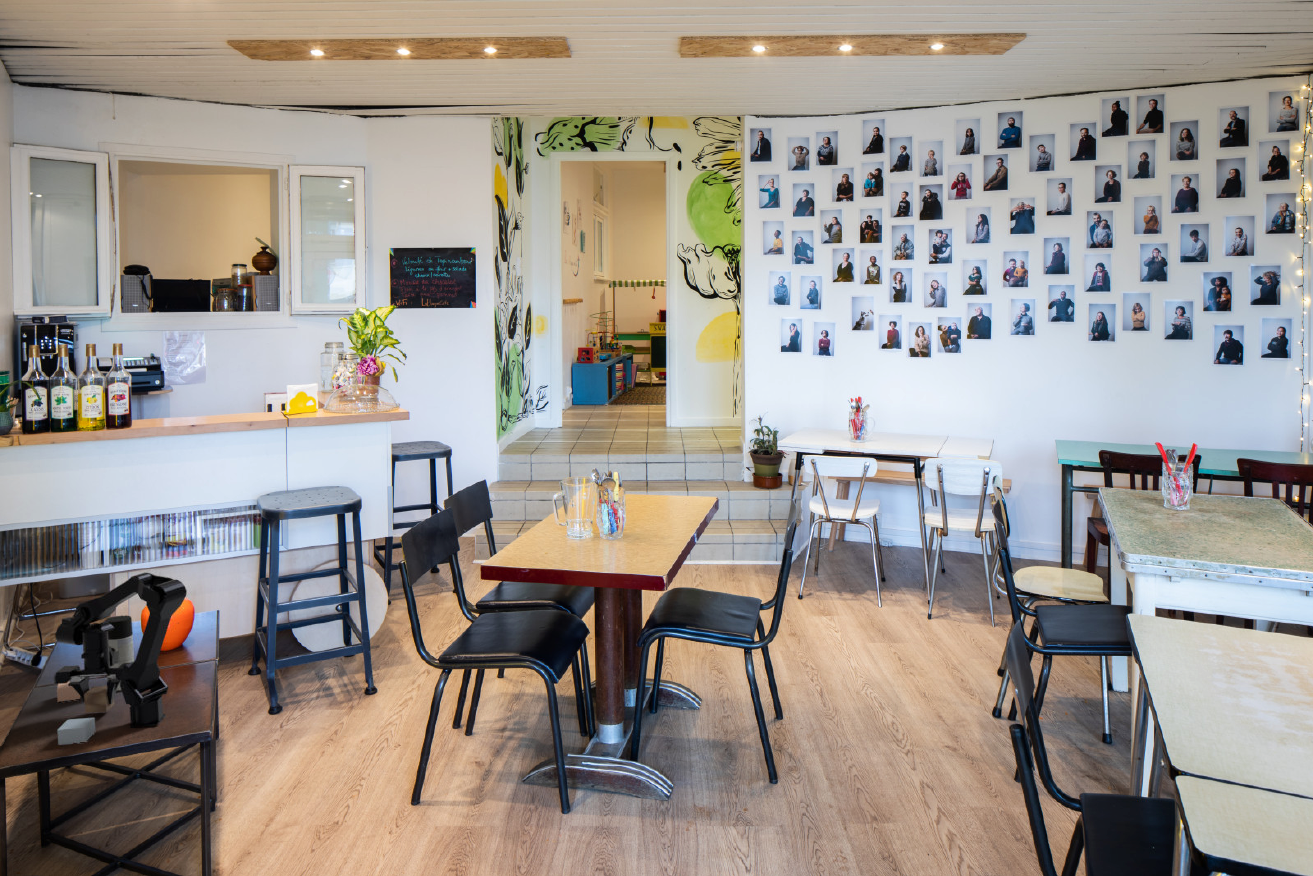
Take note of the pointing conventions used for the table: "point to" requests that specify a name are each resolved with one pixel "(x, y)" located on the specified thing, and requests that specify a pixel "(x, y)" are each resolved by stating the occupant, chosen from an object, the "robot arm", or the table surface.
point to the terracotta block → (66, 692)
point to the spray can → (121, 640)
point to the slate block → (76, 731)
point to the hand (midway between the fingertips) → (99, 704)
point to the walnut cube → (97, 700)
